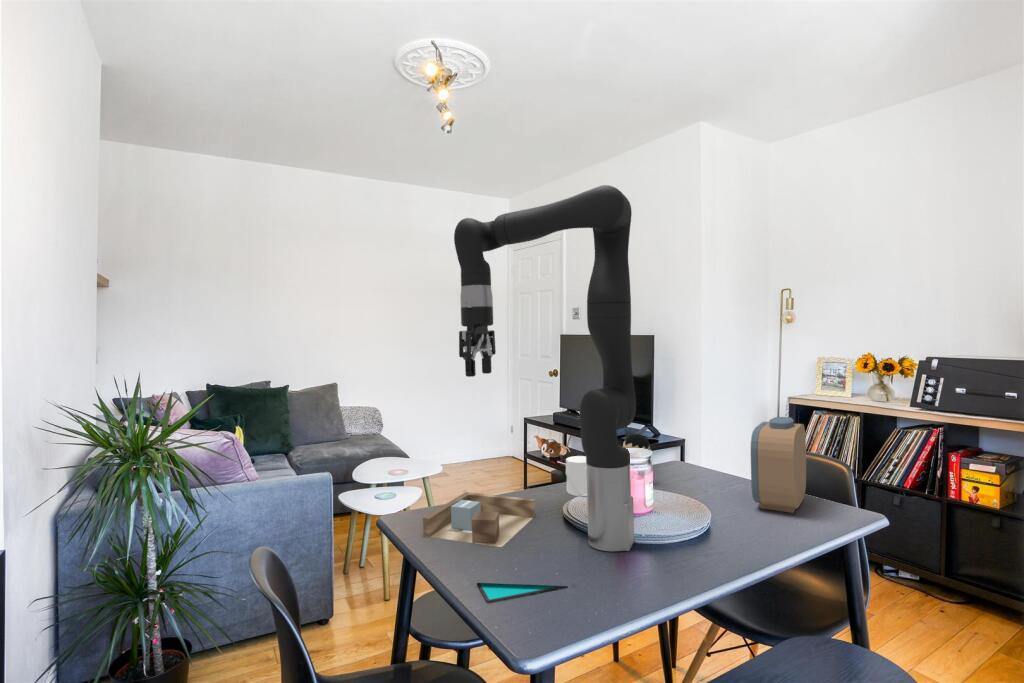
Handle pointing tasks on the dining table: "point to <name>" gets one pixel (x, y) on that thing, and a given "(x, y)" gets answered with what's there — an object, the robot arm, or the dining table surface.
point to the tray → (510, 511)
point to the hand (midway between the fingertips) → (478, 374)
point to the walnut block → (485, 527)
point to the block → (464, 514)
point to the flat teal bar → (512, 590)
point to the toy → (636, 442)
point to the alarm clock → (778, 464)
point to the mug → (576, 475)
